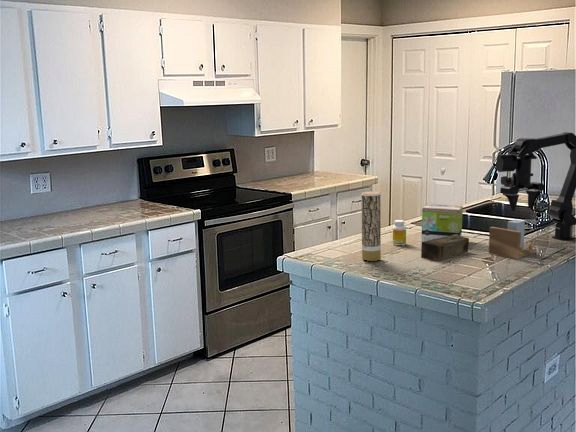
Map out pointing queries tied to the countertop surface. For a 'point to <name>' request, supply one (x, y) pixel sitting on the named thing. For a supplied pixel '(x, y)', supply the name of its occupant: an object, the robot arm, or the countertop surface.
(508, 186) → the robot arm
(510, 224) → the grey block
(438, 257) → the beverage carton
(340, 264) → the countertop surface
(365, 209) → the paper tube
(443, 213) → the tea box
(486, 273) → the countertop surface
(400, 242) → the supplement bottle
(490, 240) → the wooden knob panel
